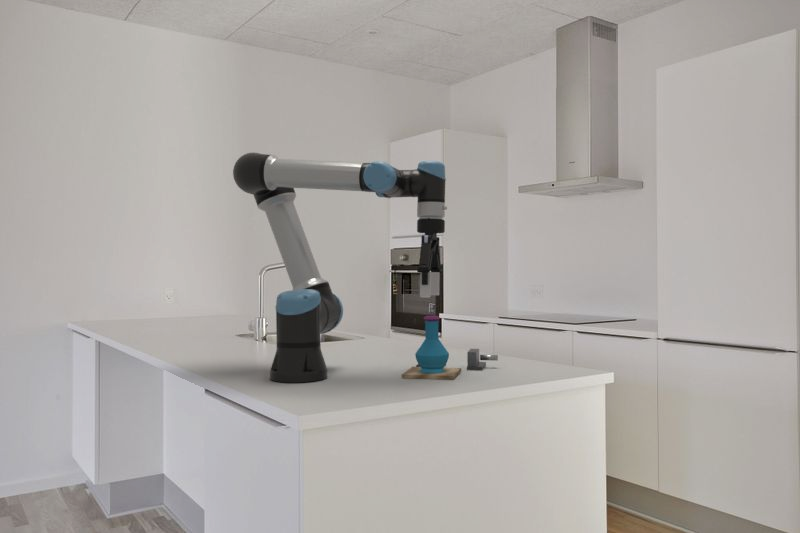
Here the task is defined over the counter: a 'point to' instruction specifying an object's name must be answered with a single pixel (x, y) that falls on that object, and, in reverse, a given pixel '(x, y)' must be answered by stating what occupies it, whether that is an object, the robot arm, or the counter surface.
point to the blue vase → (432, 349)
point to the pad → (432, 374)
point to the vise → (476, 360)
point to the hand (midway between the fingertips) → (429, 296)
